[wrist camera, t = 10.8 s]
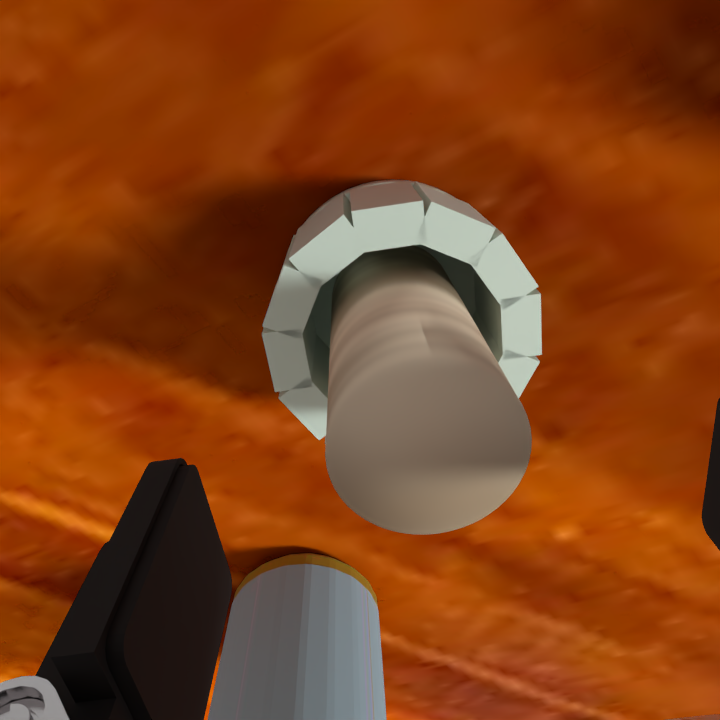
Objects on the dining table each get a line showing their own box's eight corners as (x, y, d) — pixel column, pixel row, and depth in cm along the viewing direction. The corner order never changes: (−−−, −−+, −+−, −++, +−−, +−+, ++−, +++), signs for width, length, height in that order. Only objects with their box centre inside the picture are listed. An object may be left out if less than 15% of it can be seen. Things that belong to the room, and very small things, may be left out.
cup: (260, 198, 21) (237, 228, 17) (495, 162, 21) (538, 182, 16) (302, 404, 25) (293, 475, 20) (505, 375, 24) (542, 441, 20)
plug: (322, 251, 21) (308, 375, 12) (446, 233, 21) (528, 344, 12) (341, 363, 23) (342, 546, 14) (456, 347, 23) (533, 520, 14)
